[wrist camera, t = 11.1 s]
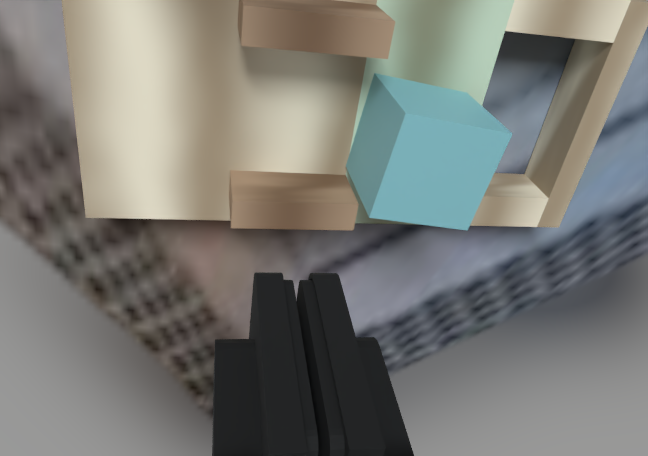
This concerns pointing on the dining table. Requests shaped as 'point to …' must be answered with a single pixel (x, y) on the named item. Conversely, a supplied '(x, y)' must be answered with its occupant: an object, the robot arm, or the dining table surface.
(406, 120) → the teal cube
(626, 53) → the board
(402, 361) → the dining table surface
